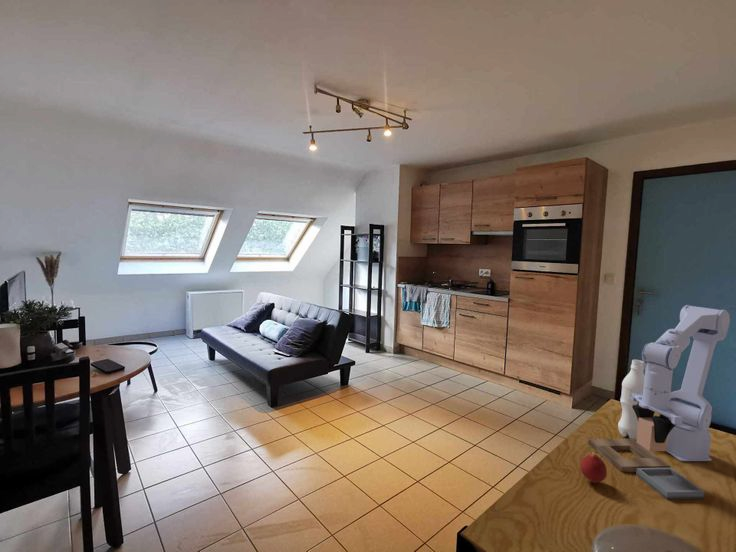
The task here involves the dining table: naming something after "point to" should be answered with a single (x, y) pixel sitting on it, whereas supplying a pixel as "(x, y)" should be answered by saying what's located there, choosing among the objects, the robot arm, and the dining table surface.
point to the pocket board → (627, 464)
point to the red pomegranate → (593, 468)
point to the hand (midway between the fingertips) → (651, 437)
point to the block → (648, 435)
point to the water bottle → (631, 385)
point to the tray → (670, 483)
